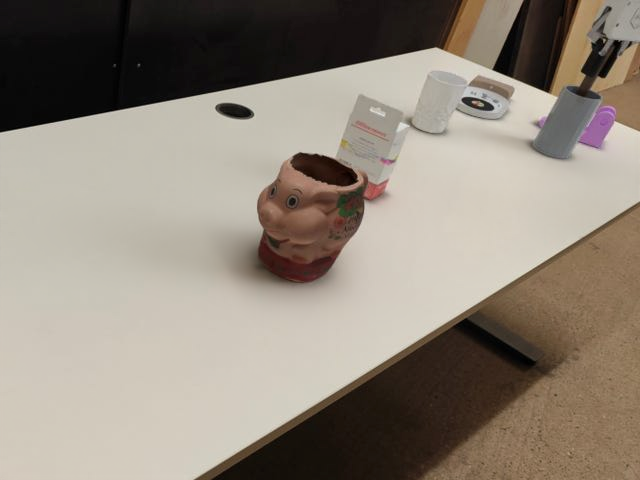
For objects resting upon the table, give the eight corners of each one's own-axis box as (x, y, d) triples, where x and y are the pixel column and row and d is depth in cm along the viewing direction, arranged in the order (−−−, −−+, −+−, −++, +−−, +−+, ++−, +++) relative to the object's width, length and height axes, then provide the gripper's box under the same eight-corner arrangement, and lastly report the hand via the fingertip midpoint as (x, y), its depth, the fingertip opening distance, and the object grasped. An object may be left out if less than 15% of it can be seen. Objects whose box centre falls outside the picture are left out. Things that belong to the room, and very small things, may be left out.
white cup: (448, 126, 140) (470, 77, 133) (443, 138, 134) (466, 89, 128) (411, 114, 142) (431, 66, 135) (405, 126, 136) (425, 77, 129)
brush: (578, 132, 134) (627, 49, 123) (561, 131, 133) (609, 48, 122) (563, 122, 137) (610, 41, 126) (546, 122, 136) (592, 39, 125)
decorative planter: (305, 219, 102) (334, 131, 93) (372, 258, 96) (411, 169, 87) (219, 259, 90) (243, 164, 81) (290, 307, 85) (324, 210, 75)
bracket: (600, 140, 147) (619, 109, 142) (598, 147, 143) (618, 116, 139) (540, 120, 151) (557, 89, 146) (537, 127, 147) (554, 95, 142)
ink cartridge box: (384, 193, 112) (420, 107, 102) (370, 201, 109) (405, 113, 100) (341, 171, 116) (372, 86, 106) (326, 179, 113) (356, 92, 103)
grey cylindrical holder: (576, 158, 137) (611, 100, 129) (548, 158, 135) (582, 99, 126) (552, 142, 142) (584, 85, 134) (524, 141, 140) (555, 84, 132)
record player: (521, 88, 156) (501, 110, 143) (515, 101, 158) (494, 124, 145) (473, 71, 160) (449, 92, 147) (467, 84, 162) (443, 106, 149)
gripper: (636, -31, 111) (573, 81, 123) (705, -23, 115) (637, 85, 128) (604, -43, 116) (546, 65, 128) (670, -35, 120) (609, 69, 133)
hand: (592, 74), depth 128 cm, fingers closed on brush, 2 cm apart
